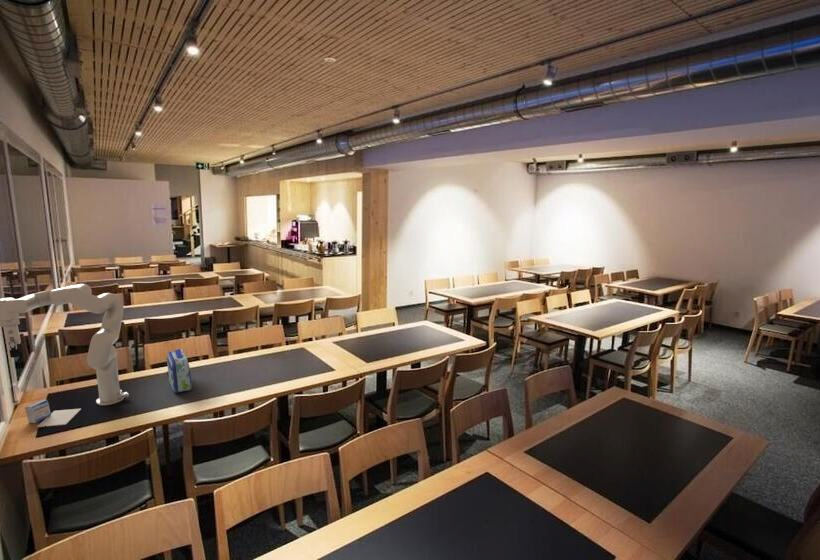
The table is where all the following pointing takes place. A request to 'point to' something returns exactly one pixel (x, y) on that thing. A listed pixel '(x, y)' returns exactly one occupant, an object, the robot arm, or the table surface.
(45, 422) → the mat
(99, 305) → the robot arm
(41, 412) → the medicine box
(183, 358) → the lunch box
